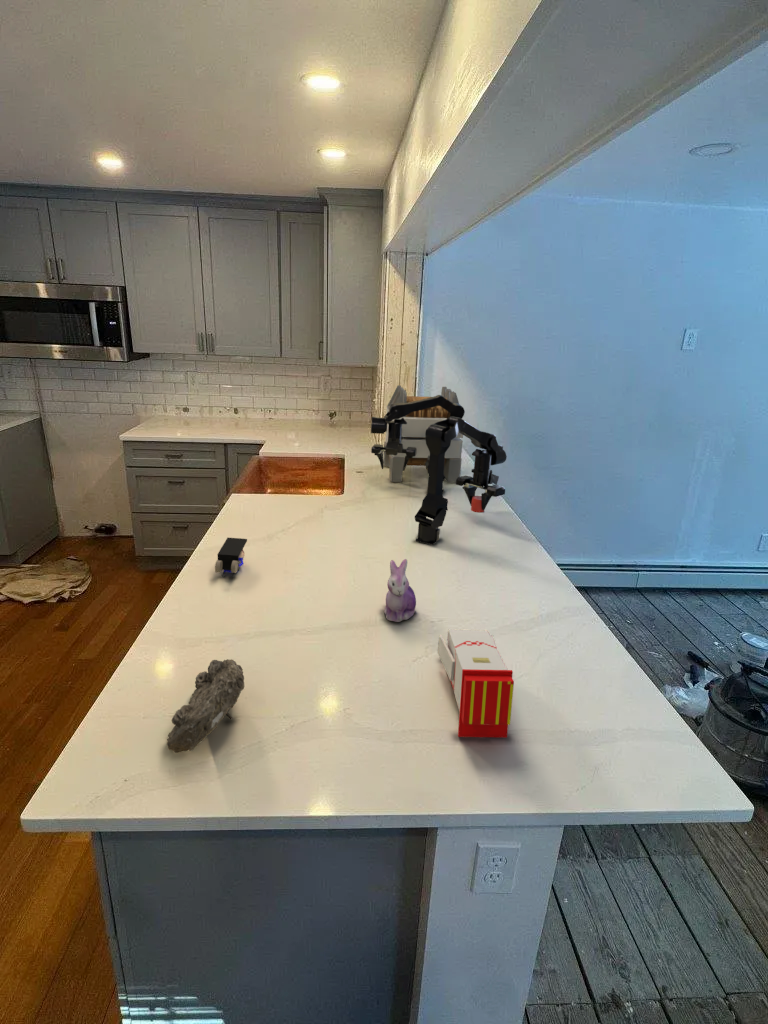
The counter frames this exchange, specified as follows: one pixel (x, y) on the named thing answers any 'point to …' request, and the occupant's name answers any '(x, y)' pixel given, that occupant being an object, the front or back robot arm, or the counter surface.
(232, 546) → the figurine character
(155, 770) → the counter surface
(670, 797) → the counter surface
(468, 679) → the toy
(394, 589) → the figurine
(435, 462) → the front robot arm
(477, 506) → the canister
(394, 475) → the transformer
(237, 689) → the fossil
